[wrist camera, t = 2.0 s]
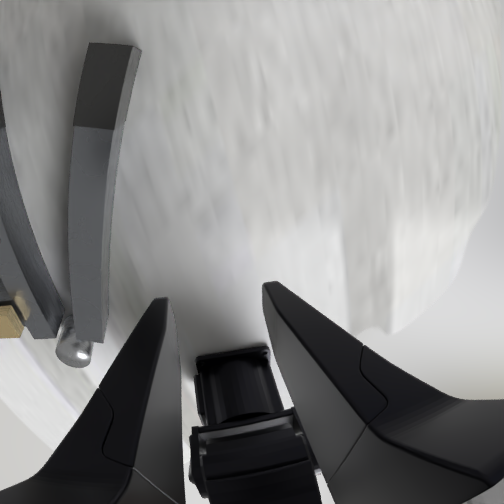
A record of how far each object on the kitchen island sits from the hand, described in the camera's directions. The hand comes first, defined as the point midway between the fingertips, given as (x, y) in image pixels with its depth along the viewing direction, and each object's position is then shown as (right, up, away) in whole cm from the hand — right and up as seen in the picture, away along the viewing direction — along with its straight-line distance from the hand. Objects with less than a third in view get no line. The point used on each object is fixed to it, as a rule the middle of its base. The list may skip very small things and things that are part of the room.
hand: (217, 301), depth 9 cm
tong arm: (-10, +3, +9) cm, 14 cm away
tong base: (-16, +4, +7) cm, 18 cm away
